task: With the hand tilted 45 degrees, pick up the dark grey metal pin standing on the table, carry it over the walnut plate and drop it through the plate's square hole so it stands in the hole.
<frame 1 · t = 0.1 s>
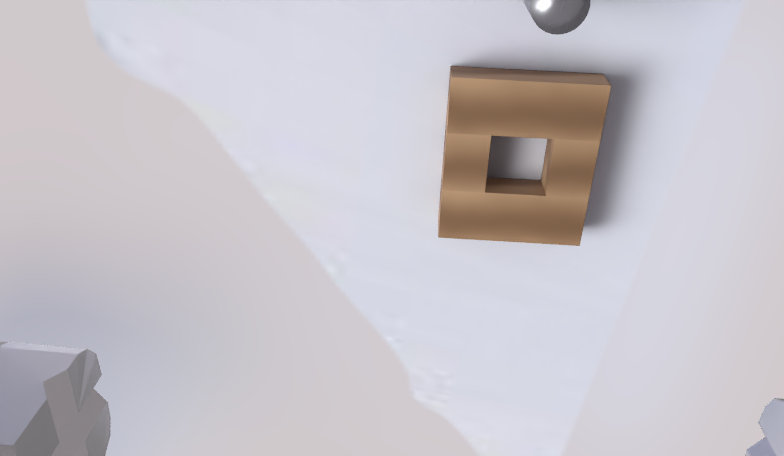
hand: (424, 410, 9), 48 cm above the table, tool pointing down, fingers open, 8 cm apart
hole plate: (515, 151, 58), on the table
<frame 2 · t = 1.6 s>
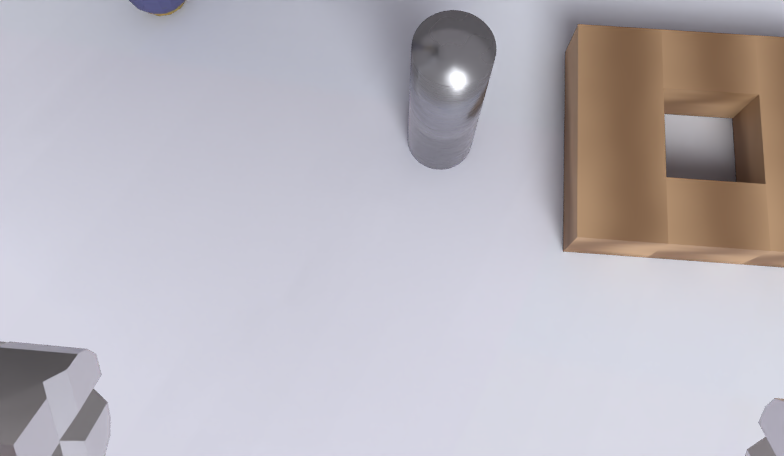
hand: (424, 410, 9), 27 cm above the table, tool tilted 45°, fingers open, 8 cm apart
pin: (439, 139, 39), on the table
hole plate: (689, 156, 39), on the table
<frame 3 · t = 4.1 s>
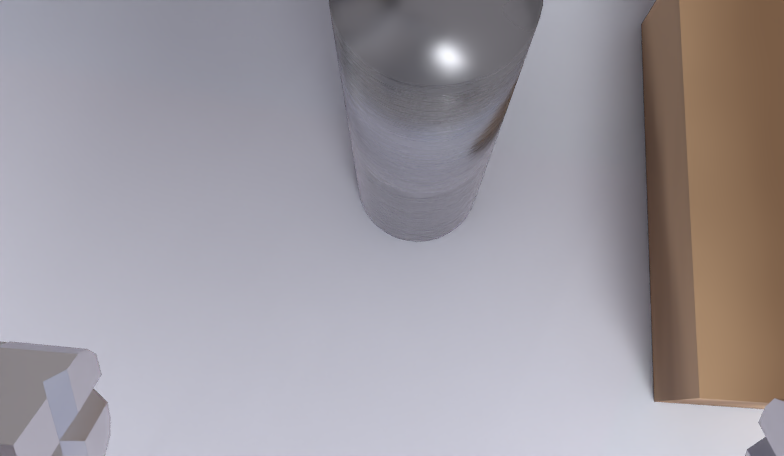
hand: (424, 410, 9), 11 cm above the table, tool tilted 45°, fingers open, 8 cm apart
pin: (417, 184, 21), on the table
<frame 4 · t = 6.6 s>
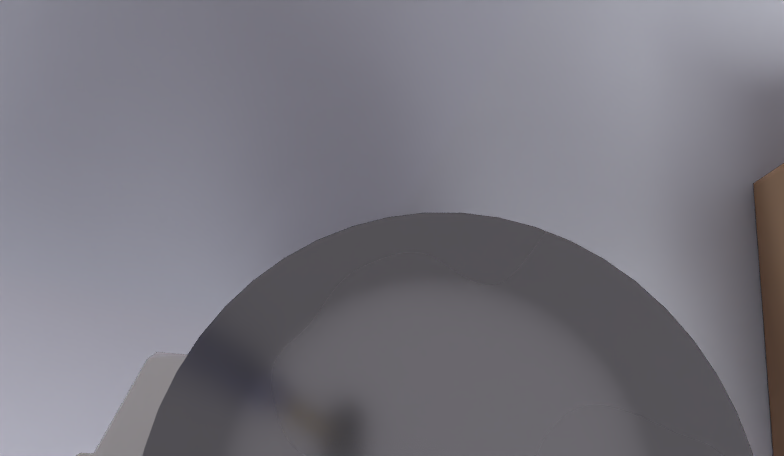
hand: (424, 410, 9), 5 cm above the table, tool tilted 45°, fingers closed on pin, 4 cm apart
pin: (413, 448, 14), on the table, touching gripper
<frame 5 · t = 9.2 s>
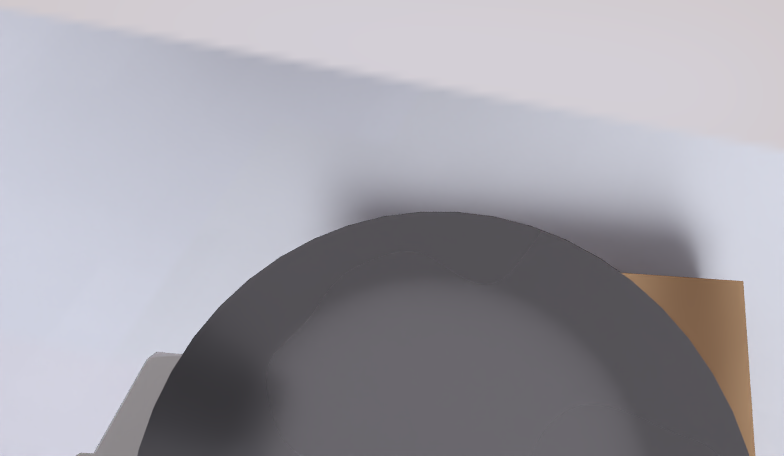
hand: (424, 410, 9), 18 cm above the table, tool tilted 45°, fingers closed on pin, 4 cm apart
pin: (411, 448, 14), point 13 cm above the table, touching gripper
hole plate: (526, 441, 26), on the table
when the fingers open (9 cm above the table, at t = 12.1 s): pin drops 3 cm, resting in hole plate.
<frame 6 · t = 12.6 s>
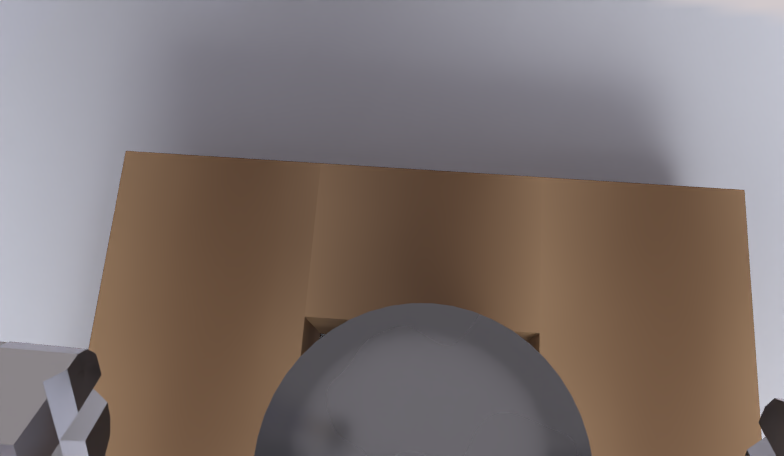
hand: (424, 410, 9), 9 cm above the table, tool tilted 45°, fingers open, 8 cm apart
pin: (409, 443, 17), resting in hole plate
hole plate: (411, 443, 17), on the table
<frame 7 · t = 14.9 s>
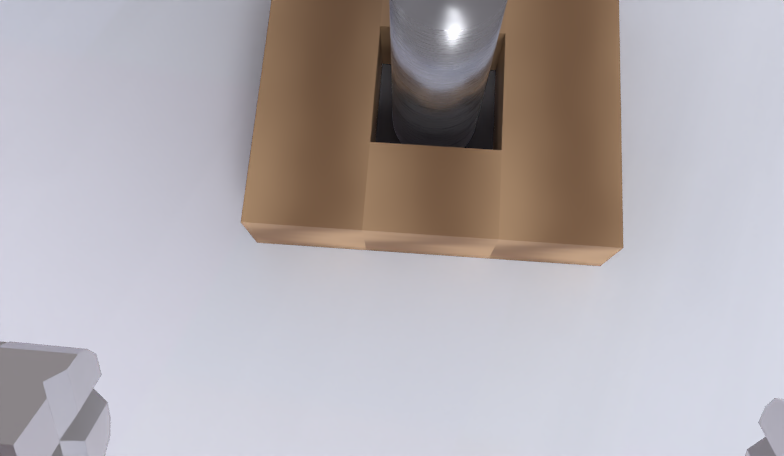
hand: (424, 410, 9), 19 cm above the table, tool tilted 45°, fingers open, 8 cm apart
pin: (434, 119, 30), resting in hole plate
hole plate: (435, 119, 30), on the table
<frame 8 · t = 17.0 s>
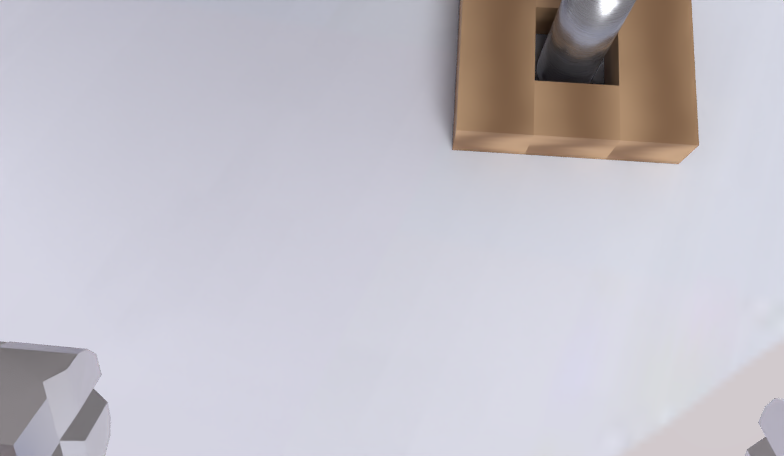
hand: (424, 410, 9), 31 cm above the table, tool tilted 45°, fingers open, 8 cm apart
pin: (564, 70, 45), resting in hole plate
hole plate: (565, 70, 44), on the table
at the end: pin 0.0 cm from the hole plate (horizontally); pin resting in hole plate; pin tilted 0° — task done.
